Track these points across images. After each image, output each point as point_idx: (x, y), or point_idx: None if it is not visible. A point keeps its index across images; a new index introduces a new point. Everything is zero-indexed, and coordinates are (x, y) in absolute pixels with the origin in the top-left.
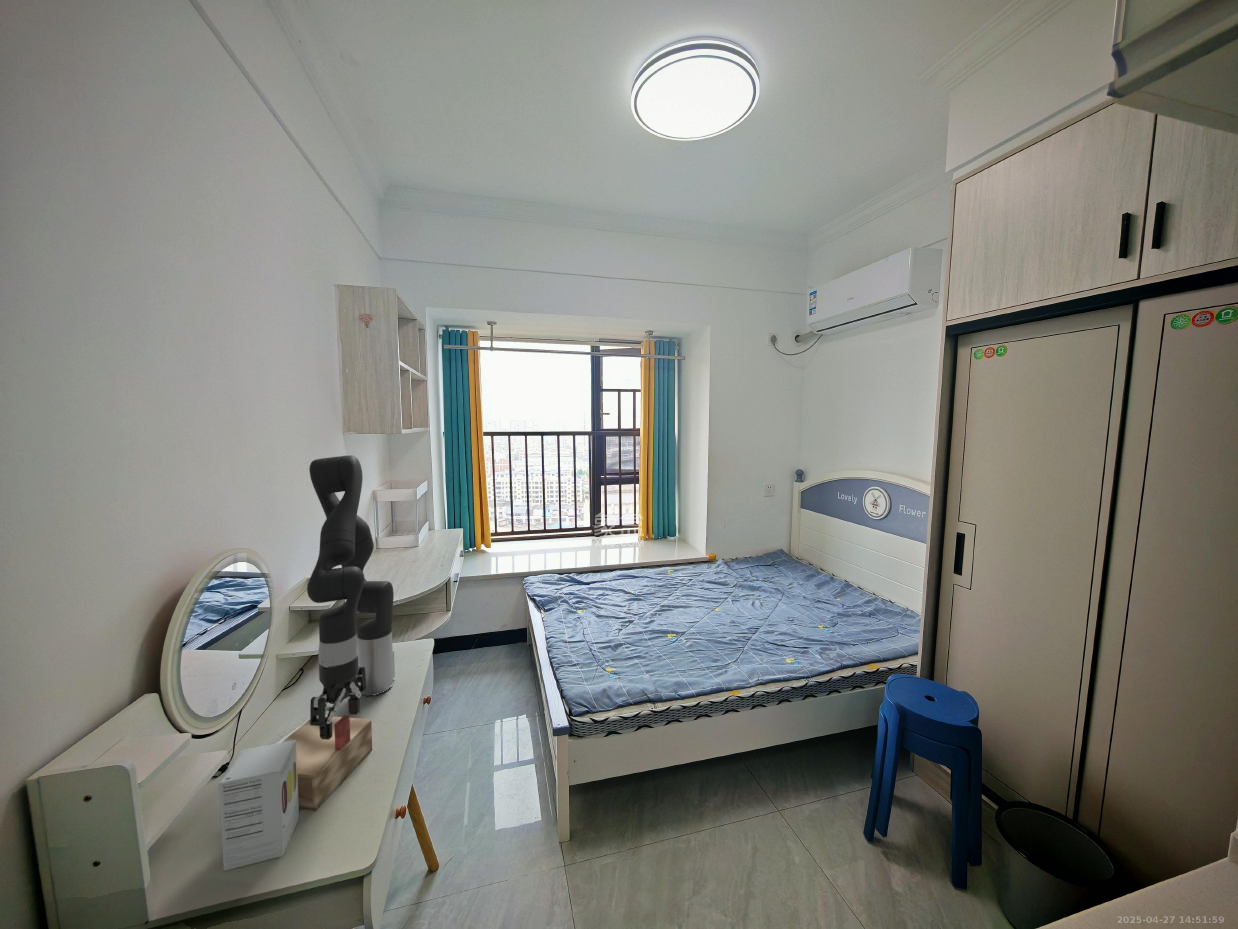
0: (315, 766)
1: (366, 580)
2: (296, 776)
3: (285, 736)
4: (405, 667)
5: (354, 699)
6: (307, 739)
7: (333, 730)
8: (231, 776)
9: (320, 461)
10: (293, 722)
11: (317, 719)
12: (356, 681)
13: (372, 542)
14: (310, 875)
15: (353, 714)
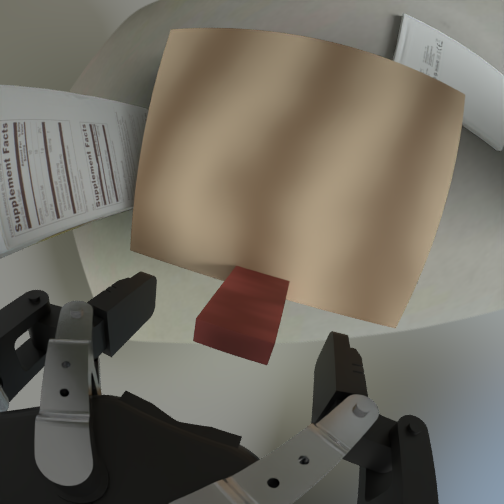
0: (160, 234)
1: None
2: (92, 220)
3: (438, 30)
4: None
5: (323, 417)
6: (312, 123)
7: (362, 208)
8: None
9: None
10: (487, 38)
11: (32, 330)
12: (382, 497)
13: None
14: (86, 274)
15: (322, 350)
